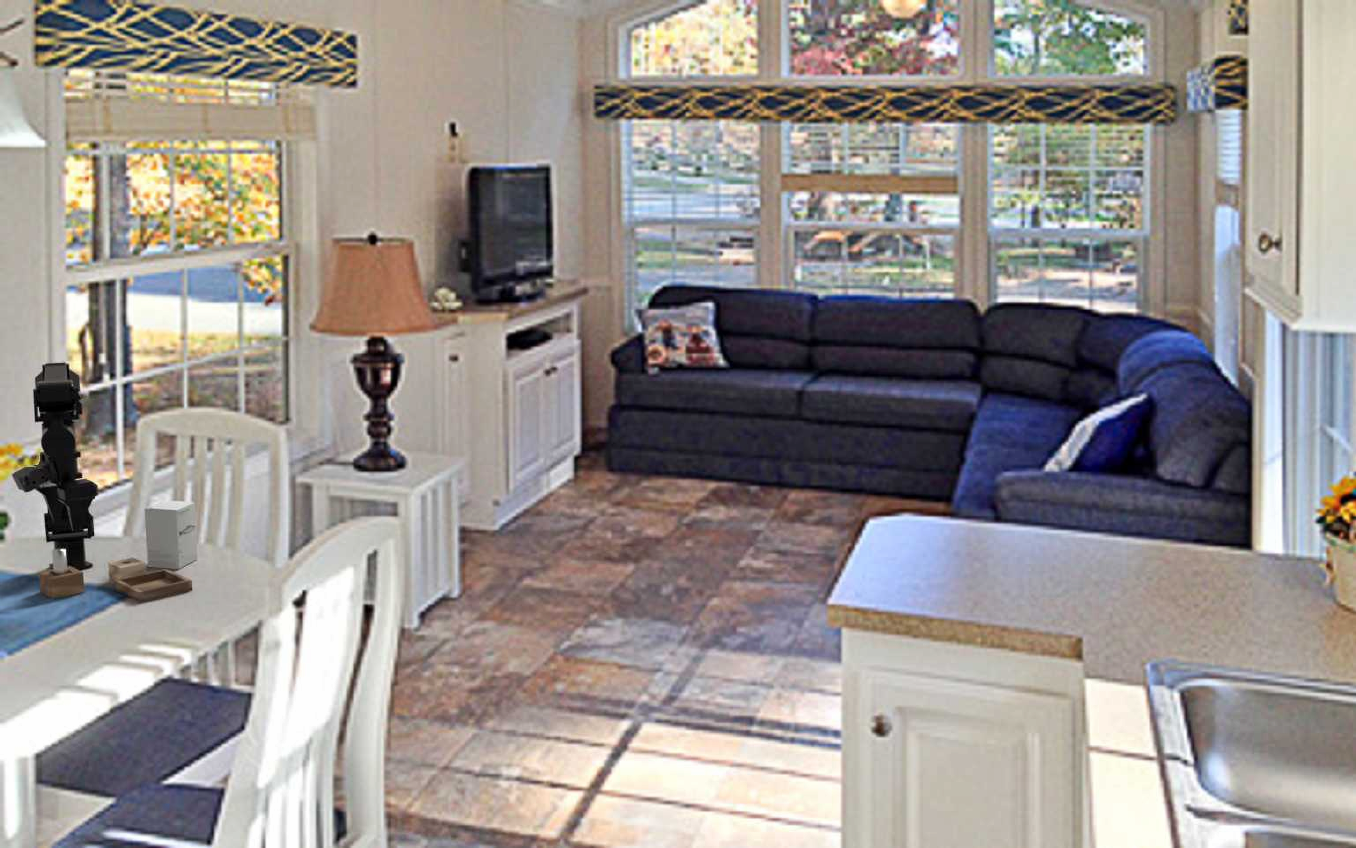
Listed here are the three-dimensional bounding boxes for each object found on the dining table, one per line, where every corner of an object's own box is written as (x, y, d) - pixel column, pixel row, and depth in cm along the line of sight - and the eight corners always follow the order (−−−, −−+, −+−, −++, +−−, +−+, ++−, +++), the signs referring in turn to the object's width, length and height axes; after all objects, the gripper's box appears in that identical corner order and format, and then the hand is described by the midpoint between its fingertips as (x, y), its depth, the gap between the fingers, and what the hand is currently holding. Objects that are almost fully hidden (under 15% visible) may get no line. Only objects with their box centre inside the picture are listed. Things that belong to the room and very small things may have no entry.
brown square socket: (40, 592, 260) (38, 572, 259) (71, 585, 265) (69, 565, 264) (53, 599, 256) (51, 579, 255) (84, 592, 261) (83, 572, 260)
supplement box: (179, 570, 275) (175, 510, 273) (146, 567, 277) (142, 508, 274) (199, 559, 282) (195, 501, 280) (167, 557, 284) (163, 499, 281)
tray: (114, 590, 262) (113, 580, 262) (166, 578, 270) (166, 568, 269) (139, 602, 255) (138, 592, 255) (192, 590, 263) (191, 580, 262)
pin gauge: (53, 592, 260) (50, 549, 259) (65, 589, 262) (62, 547, 260) (58, 595, 259) (55, 552, 257) (71, 592, 260) (67, 550, 259)
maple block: (109, 582, 267) (108, 562, 267) (133, 576, 271) (132, 557, 270) (121, 587, 264) (120, 567, 263) (145, 581, 268) (144, 562, 267)
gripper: (-3, 445, 257) (3, 524, 260) (35, 461, 244) (41, 544, 247) (56, 437, 264) (62, 514, 267) (96, 452, 252) (102, 533, 255)
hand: (65, 526), depth 259 cm, fingers open, 9 cm apart
